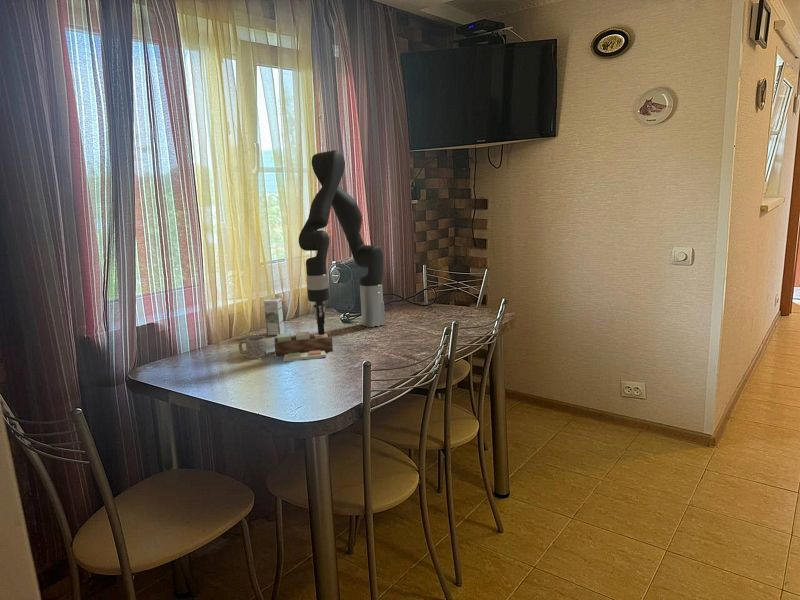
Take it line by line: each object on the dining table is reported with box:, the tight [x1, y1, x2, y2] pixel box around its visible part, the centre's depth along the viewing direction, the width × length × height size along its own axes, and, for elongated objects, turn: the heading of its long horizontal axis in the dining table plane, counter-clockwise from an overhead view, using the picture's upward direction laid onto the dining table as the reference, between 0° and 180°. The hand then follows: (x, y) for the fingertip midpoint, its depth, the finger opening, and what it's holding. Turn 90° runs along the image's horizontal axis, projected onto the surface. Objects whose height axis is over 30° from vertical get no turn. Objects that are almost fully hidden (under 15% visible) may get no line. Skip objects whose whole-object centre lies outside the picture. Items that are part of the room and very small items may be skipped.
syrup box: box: [263, 297, 285, 337], centre depth 230 cm, size 6×6×14 cm
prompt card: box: [283, 350, 327, 362], centre depth 198 cm, size 14×5×2 cm, turn 102°
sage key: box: [276, 332, 292, 342], centre depth 204 cm, size 5×5×2 cm
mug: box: [238, 335, 267, 360], centre depth 202 cm, size 10×7×7 cm
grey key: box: [295, 330, 311, 340], centre depth 205 cm, size 5×5×2 cm
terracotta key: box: [314, 334, 328, 339], centre depth 206 cm, size 5×5×2 cm
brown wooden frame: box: [274, 331, 334, 358], centre depth 205 cm, size 20×8×5 cm, turn 102°
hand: (321, 334), depth 206 cm, fingers closed
